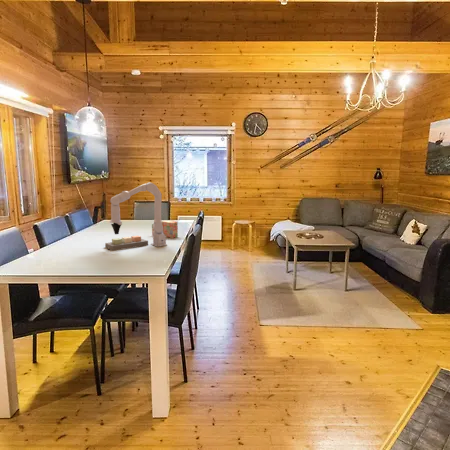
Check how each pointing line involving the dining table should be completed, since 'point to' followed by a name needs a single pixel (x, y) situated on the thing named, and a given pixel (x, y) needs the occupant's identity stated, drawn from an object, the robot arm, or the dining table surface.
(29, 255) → the dining table surface
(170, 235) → the stack of blocks
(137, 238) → the terracotta key
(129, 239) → the cream key
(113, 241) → the green key
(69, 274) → the dining table surface
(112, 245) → the board
